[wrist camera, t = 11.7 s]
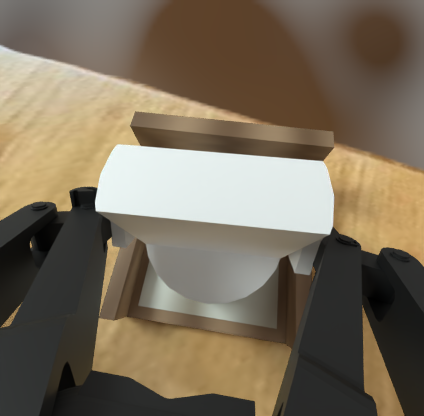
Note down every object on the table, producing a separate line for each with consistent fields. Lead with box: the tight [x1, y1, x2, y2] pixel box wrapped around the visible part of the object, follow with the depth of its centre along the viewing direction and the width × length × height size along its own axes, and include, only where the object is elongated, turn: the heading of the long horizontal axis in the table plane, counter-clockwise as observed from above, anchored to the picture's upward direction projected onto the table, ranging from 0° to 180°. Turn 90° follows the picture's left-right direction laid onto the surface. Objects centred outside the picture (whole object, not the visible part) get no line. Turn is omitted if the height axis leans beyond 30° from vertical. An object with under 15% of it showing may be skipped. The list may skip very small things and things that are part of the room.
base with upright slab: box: [95, 144, 334, 304], centre depth 14 cm, size 9×9×12 cm
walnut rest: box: [99, 112, 334, 348], centre depth 18 cm, size 16×16×8 cm
